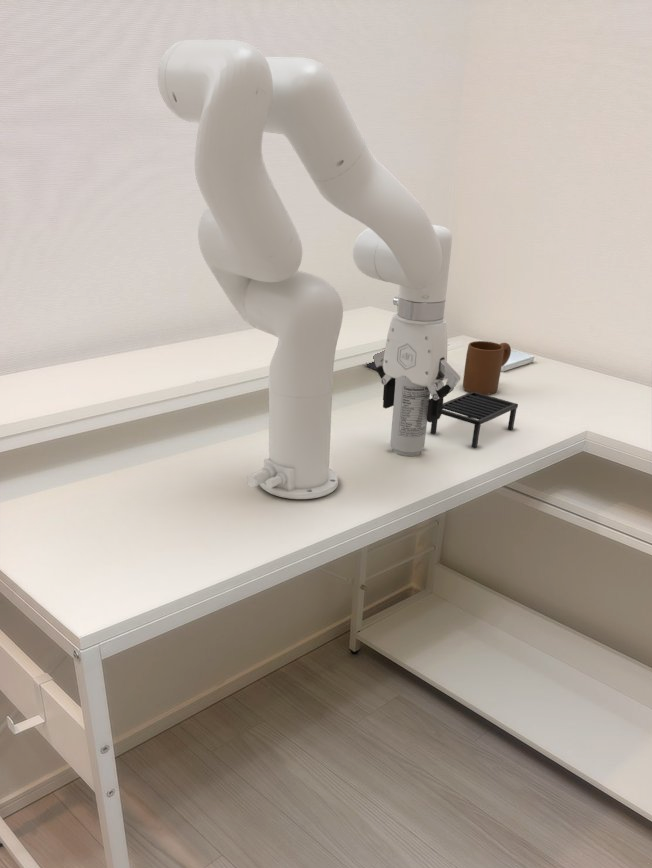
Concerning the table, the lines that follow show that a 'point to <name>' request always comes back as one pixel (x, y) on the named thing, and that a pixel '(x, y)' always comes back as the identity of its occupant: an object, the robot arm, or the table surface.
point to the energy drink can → (409, 417)
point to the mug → (484, 366)
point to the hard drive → (517, 360)
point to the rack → (477, 411)
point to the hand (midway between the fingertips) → (411, 413)
